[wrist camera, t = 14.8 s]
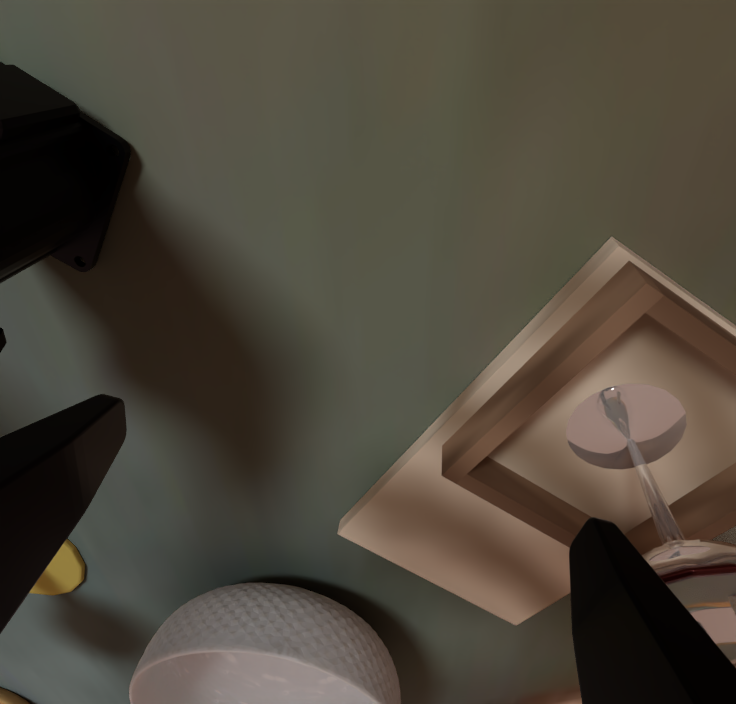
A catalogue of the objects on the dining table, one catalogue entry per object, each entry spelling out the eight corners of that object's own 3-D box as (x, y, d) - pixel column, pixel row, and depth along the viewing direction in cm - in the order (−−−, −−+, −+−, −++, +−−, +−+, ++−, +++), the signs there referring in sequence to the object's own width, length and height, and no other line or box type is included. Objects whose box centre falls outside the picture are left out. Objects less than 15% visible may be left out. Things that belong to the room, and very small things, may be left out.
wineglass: (669, 494, 24) (821, 818, 14) (527, 468, 25) (579, 767, 15) (741, 381, 21) (1012, 710, 11) (573, 353, 21) (683, 647, 11)
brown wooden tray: (514, 610, 33) (519, 658, 30) (340, 519, 30) (330, 564, 28) (842, 402, 22) (893, 451, 19) (611, 236, 19) (635, 267, 17)
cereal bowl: (333, 700, 43) (314, 808, 37) (149, 618, 40) (96, 722, 34) (457, 614, 34) (459, 738, 28) (233, 501, 31) (182, 613, 25)
